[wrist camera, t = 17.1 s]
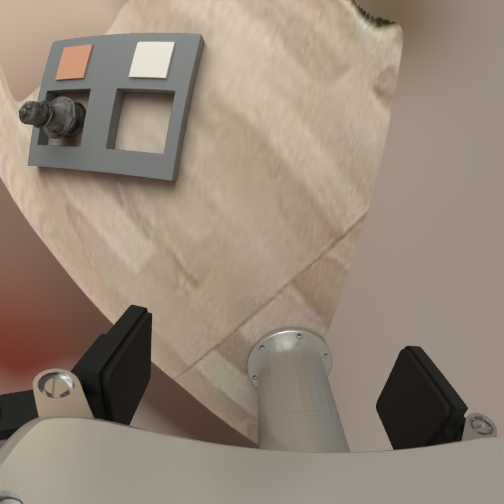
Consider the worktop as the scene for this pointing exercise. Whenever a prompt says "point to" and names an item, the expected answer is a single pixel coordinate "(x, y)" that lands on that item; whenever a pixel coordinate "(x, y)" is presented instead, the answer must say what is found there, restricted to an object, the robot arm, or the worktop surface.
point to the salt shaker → (55, 116)
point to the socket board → (119, 98)
